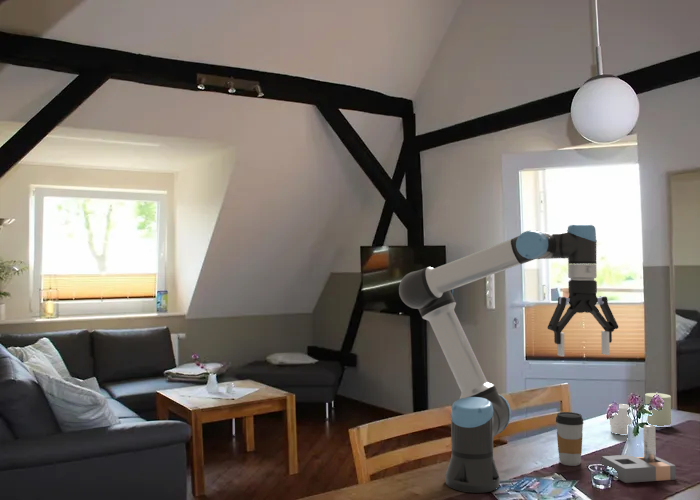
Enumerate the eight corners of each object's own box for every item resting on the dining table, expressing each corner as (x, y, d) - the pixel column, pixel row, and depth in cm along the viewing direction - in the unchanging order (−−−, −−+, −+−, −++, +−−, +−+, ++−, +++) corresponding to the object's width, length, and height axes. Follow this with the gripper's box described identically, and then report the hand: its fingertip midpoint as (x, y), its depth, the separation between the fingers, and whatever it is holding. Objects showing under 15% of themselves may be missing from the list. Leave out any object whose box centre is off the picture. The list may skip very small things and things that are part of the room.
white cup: (636, 436, 233) (635, 408, 233) (614, 436, 233) (613, 408, 233) (627, 430, 241) (626, 403, 241) (605, 430, 241) (605, 403, 241)
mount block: (625, 482, 184) (625, 468, 184) (601, 469, 195) (601, 456, 195) (675, 479, 186) (675, 465, 186) (649, 466, 198) (649, 453, 198)
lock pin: (648, 475, 190) (647, 427, 190) (641, 472, 193) (641, 425, 193) (658, 475, 190) (657, 427, 190) (651, 471, 193) (650, 424, 194)
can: (649, 427, 245) (648, 396, 245) (642, 421, 254) (641, 391, 254) (675, 428, 243) (674, 396, 243) (667, 422, 252) (666, 391, 252)
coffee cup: (586, 467, 197) (585, 418, 198) (557, 466, 199) (557, 417, 199) (581, 459, 205) (581, 412, 206) (554, 458, 207) (554, 411, 207)
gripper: (547, 280, 176) (548, 358, 175) (630, 279, 180) (631, 355, 180) (534, 279, 183) (535, 354, 183) (615, 278, 187) (616, 352, 187)
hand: (583, 355), depth 181 cm, fingers open, 13 cm apart
